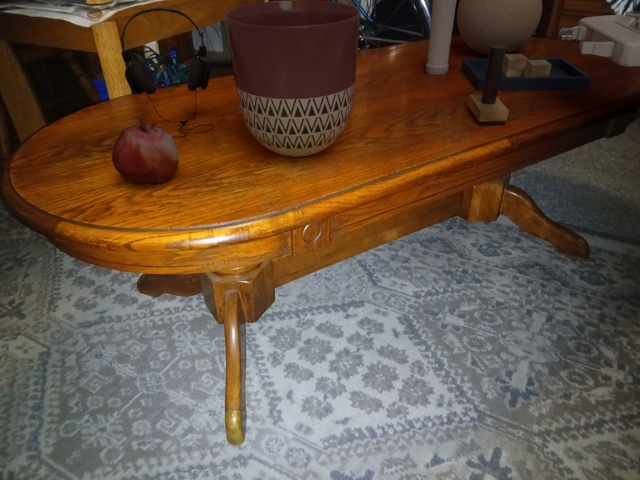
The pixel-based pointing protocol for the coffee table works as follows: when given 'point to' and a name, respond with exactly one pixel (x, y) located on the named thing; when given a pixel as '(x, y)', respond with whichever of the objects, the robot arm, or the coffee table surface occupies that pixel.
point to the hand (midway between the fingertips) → (570, 40)
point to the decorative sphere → (498, 23)
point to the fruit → (145, 154)
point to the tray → (559, 77)
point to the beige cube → (537, 68)
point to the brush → (490, 92)
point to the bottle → (440, 36)
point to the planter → (294, 71)
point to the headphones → (143, 80)
